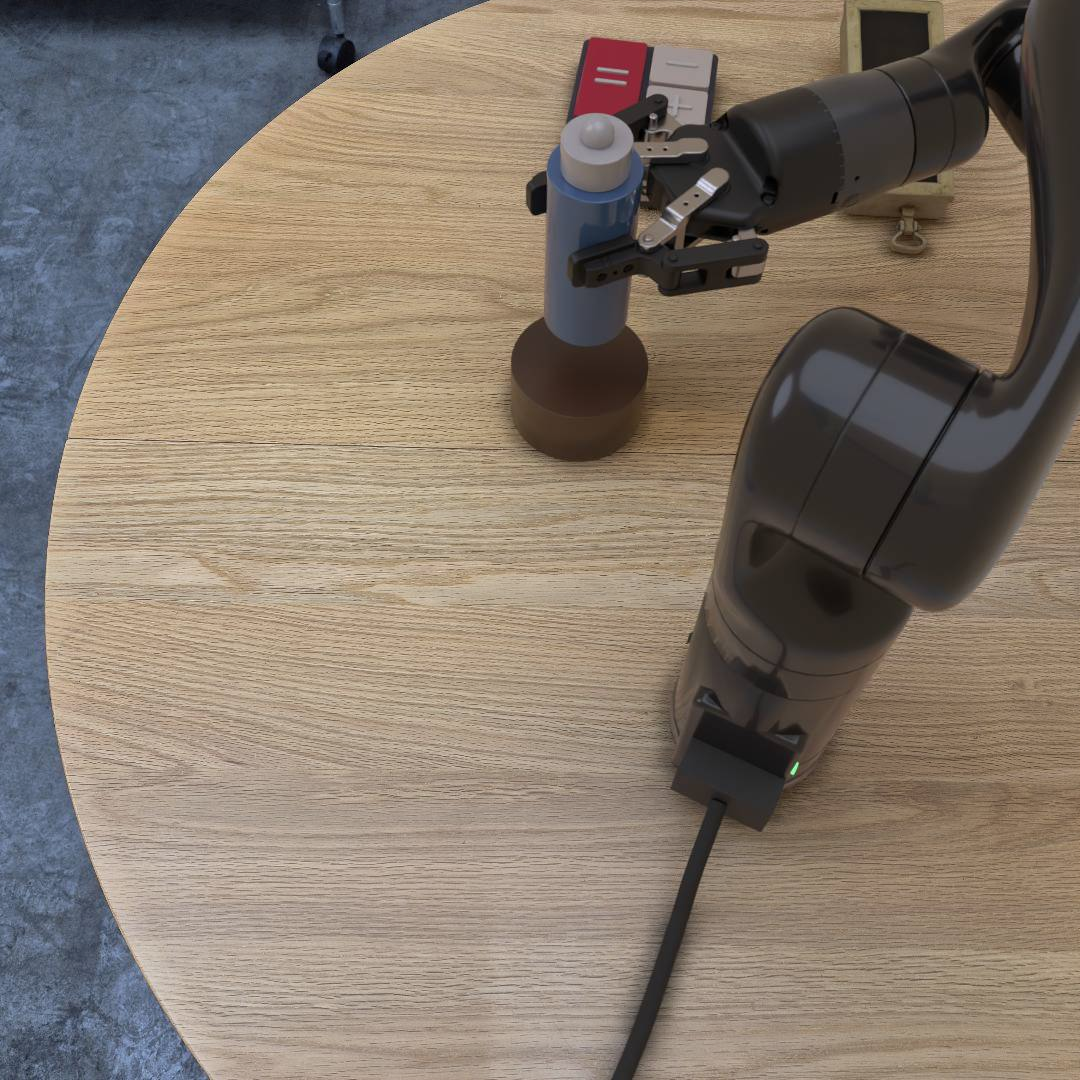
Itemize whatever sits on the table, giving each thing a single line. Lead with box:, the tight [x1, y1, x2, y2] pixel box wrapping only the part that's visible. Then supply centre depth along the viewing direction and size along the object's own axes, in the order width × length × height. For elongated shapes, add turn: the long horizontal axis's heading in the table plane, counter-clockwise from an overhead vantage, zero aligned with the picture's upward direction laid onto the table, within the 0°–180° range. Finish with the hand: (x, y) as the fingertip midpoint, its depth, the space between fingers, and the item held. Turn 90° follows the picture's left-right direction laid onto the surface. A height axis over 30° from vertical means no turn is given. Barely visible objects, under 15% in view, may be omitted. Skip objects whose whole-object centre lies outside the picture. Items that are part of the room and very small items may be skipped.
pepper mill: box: [543, 113, 644, 347], centre depth 68 cm, size 5×5×15 cm
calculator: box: [564, 36, 719, 209], centre depth 94 cm, size 11×4×15 cm
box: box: [839, 0, 956, 255], centre depth 94 cm, size 8×22×5 cm, turn 178°
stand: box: [510, 316, 650, 462], centre depth 81 cm, size 9×9×5 cm
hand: (550, 234), depth 67 cm, fingers closed on pepper mill, 5 cm apart
